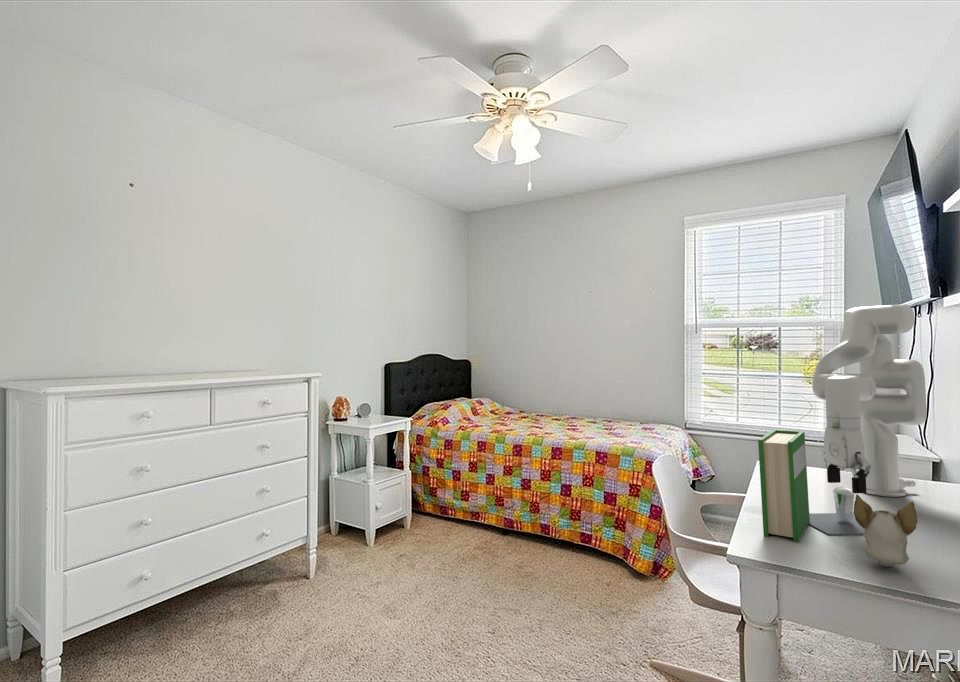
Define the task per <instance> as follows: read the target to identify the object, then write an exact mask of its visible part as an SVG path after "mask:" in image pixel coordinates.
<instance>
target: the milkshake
mask: <svg viewBox="0 0 960 682" xmlns="http://www.w3.org/2000/svg"><path fill="white" fill-rule="evenodd" d="M832 493H833V500H834V507H835V513H836V515H837V521H838V522H839V523H843V524H852V514H853V512H854V497H855V496H854V495H855V493H853V492H852V488H848V487H843V486H838V487H837V486H836V487H834V488H833V490H832Z"/></svg>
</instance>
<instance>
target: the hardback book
mask: <svg viewBox="0 0 960 682" xmlns="http://www.w3.org/2000/svg"><path fill="white" fill-rule="evenodd" d="M805 435H806V434H805V431H803V430H802V431H800V430H784V429H772V430H771V431H769V432H767V433H766V434H764V435H763V436H762V437H760V438H759V439H757V442H758V443H757V445H758V446H757V447H758V460H759V462H758V464H759V479H760V494H761V495H760V496H761V514H762V516H761V517H762V528H763V529H762V533H763V537H767V538H768V537H769V535H770V534H771V535H775V536H782V537H787V538H792V539H793V542H795V543H799V541H800V539H801V538H802V536H803V534H804V532H805V531H806V529H807V527H808V526H809V525H808V524H809V522H810V517H809V514H810V504H809V503H810V502H809V487H808V470H807V454H806V453H807V452H806V451H807V450H806V437H805Z"/></svg>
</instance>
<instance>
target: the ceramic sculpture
mask: <svg viewBox="0 0 960 682" xmlns="http://www.w3.org/2000/svg"><path fill="white" fill-rule="evenodd" d="M855 494H856V495H855V501H853V513H854V515H855V519H856V521H857V522H858V524H859V525H860V526H862V527H863V528H864V530H865V534H864V535H863V536H864V538H865V547H864V548H863V552H864V554H865V555H866V556H867V557H868V558H869V559H872V560H873V561H876V563H878V564H879V565H881V566H883V567H889V568H894V567H895V566H897V565H904V564H906V563H908V561H909V560H910V557H909V555H908V553H907V546H908V538H907V537H908V536H910V535H911V534H912V533H914V532H915V530H916V529H917V524H918V516H917V511H916V508H915V504H914V501H913V500H912V501H910V502H909V503H908V504H907V505H905V506H902V507H901V508H899V509H898V510H897V511H896V513H894V512H891V511H888V510H881V509H878V510H874V511H873V508H872V507H871V505H870V504H869V503H867V502H866V501H865V500H863V499H862V498H861V496H860V495H859V494H858V493H855ZM909 534H910V535H909Z"/></svg>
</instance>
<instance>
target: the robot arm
mask: <svg viewBox="0 0 960 682" xmlns="http://www.w3.org/2000/svg"><path fill="white" fill-rule="evenodd" d="M843 318H844V319H843V320H844V322H843V326H842V330H841V331H842V332H841V336H840V342H839V344H838V345H837V346H835V347H834V348H832V349H831V350H829V351H828V352H826V353H825V354H824V355H823V356H822V357H820V359H819V360H818V362H817V364H816V365H815V366H816V367H815V369H814V374H813V379H812V386H811V387H812V392H813V394H814V396H815V397H816V398H818V399H819V400H824V401H825V414H826V415H825V417H826V426H825V430H824V434H823V435H824V436H823V437H824V438H823V449H821V452H822V455H823V460H824V461H825V464H824V465H825V467H826V475H827V476H826V479H827V480H826V481H827V483H829V484H836V483H838V484H839V483H841V468H842V469H846V470H847V469H849V470H850V472H851V475H852V476H853V477H851V490H852V492H853V493H854V494H869V495H872V496H873V495H874V496H879V497H888V498H889V497H890V498H892V497H894V498H895V497H898V498H899V497H905V496H906V495H907V491H906V489H904V488H906V487H908V488H909V487H910V488H911V487H914V488H915V487H916V484H917V483H916V482H915V480H911V479H910V480H905V479H902V478H900V459H899V455H900V453H899V439H898V436H897V434H896V433H895V432H894V430H893V429H892V428H891V427H890V426H889V425H903V426H904V425H906V426H919V425H922V424H924V423H925V422H926V420H927V415H928V414H927V411H928V409H927V391H926V390H927V389H926V377H925V376H926V375H925V370H924V368H923V367H924V366H923V365H922V364H921V362H920V361H918V360H915V359H908V358H907V359H906V358H905V359H902V358H901V359H900V358H899V359H897V358H896V359H895V358H894V357H893V345H892V342H891V340H890V339H888V337H887V336H886V335H893V334H894V335H895V334H896V335H898V334H899V335H900V334H905V333H908V332H910V331H912V329H913V327H914V325H915V312H914V310H913V307H911V306H910V305H909V304H905V303H904V304H903V303H902V304H887V305H886V304H885V305H868V306H866V305H865V306H858V307H852V308H850V309H847V310H846V311H845V313H844V315H843ZM856 363H859V373H837V372H836V373H834V372H835V371H837V370H839V369H840V368H844V367H846V366H847V367H848V366H850V365H853V364H856ZM877 390H898V391H899V390H900V391H904V392H905V393H889V392H887V393H884V392H877ZM857 470H858V471H857Z"/></svg>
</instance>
